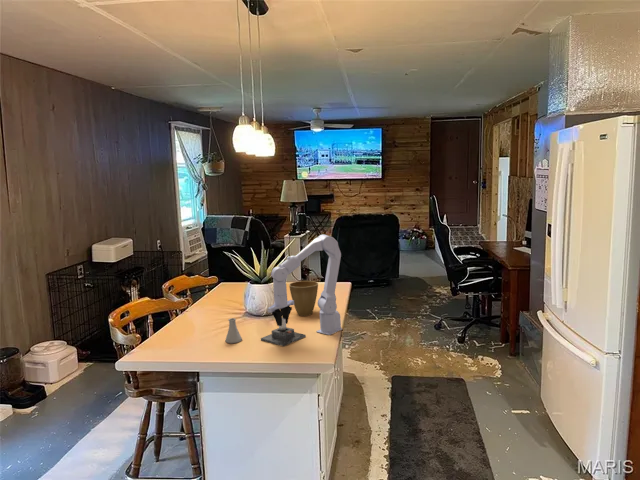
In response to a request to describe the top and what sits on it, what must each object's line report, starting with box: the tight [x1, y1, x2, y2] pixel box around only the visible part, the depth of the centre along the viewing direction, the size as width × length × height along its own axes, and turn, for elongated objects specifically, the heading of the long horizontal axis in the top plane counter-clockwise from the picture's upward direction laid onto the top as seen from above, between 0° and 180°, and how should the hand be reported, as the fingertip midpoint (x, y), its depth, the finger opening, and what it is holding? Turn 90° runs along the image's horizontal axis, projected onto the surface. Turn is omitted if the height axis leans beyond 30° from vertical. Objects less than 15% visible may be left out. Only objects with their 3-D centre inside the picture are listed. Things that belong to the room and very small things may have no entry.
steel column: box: [278, 318, 287, 332], centre depth 213 cm, size 3×3×8 cm
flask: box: [225, 317, 243, 344], centre depth 214 cm, size 7×7×10 cm
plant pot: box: [288, 280, 319, 317], centre depth 248 cm, size 15×15×16 cm
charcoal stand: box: [260, 326, 307, 347], centre depth 213 cm, size 14×14×4 cm
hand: (282, 324), depth 213 cm, fingers closed on steel column, 3 cm apart
